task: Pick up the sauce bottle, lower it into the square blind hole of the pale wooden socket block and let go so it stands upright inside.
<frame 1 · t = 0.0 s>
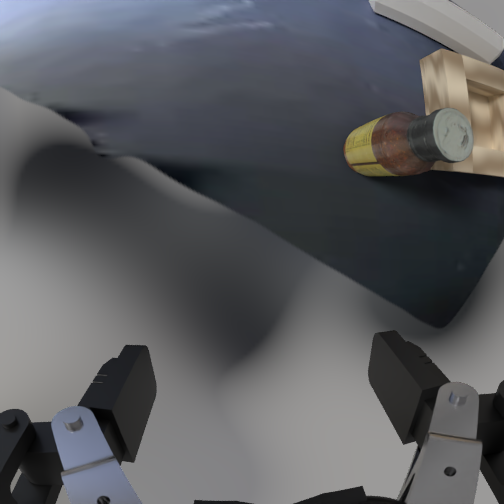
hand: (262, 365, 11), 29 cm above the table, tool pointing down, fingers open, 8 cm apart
sauce bottle: (362, 150, 37), on the table
crystal: (430, 22, 32), on the table
socket block: (467, 120, 36), on the table
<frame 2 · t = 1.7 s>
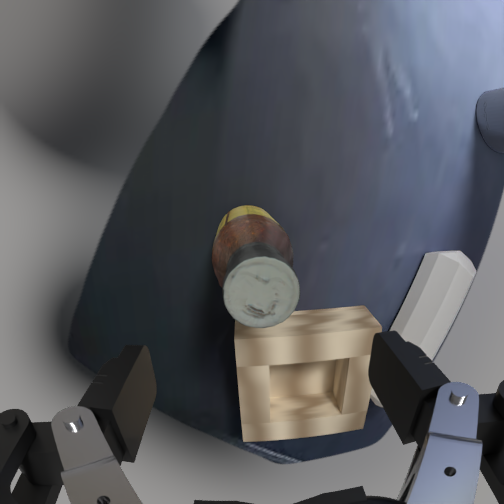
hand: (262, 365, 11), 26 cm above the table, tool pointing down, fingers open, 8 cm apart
sauce bottle: (248, 230, 36), on the table
crystal: (411, 324, 40), on the table
socket block: (300, 365, 40), on the table
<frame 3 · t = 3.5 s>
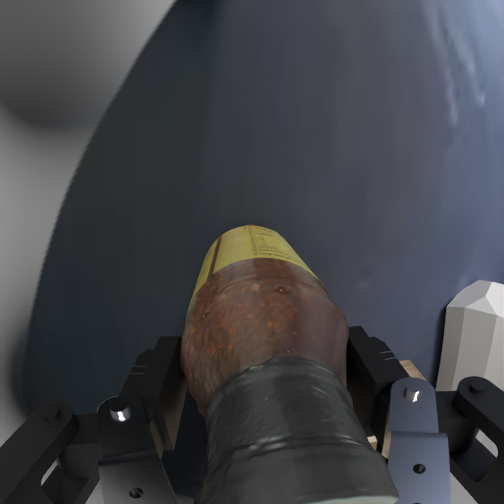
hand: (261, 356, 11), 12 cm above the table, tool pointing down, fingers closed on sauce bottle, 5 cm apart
sauce bottle: (251, 262, 23), on the table, touching gripper
crystal: (458, 374, 27), on the table
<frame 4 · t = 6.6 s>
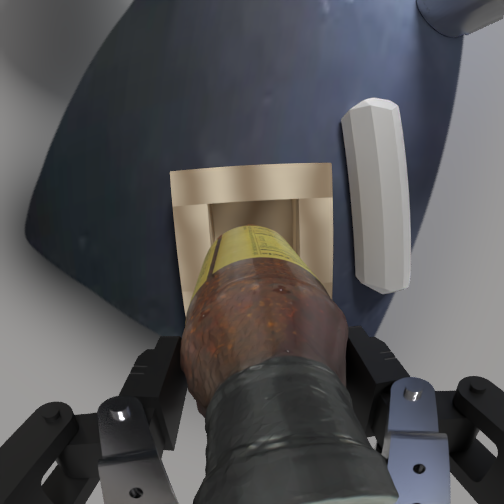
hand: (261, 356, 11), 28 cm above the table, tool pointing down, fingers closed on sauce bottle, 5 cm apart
sauce bottle: (251, 262, 23), point 15 cm above the table, touching gripper
crystal: (375, 195, 38), on the table
socket block: (253, 234, 38), on the table
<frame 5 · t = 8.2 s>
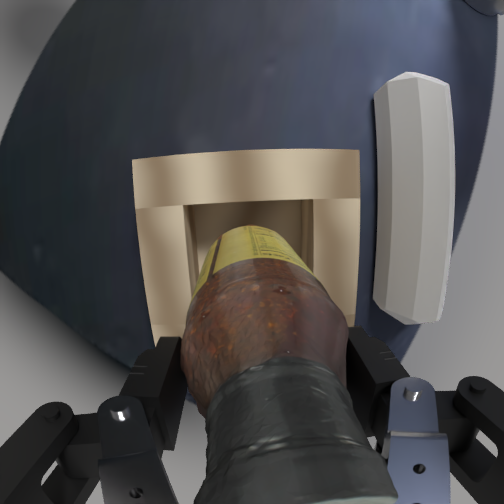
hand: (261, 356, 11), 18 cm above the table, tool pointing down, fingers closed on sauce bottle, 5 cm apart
sauce bottle: (251, 262, 23), point 6 cm above the table, touching gripper
crystal: (406, 197, 28), on the table
socket block: (249, 245, 29), on the table
when the fingers open (14 cm above the table, at t = 9.7 s): sauce bottle stays where it is, resting on socket block.
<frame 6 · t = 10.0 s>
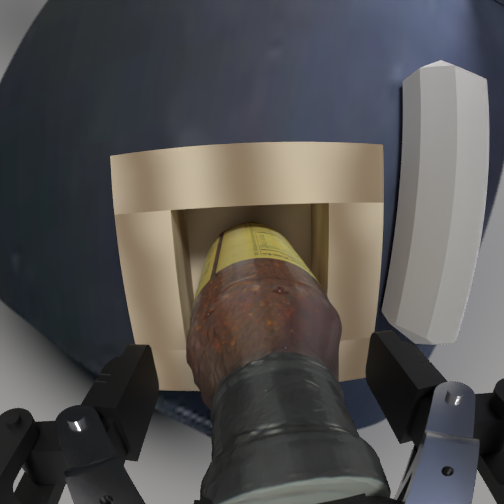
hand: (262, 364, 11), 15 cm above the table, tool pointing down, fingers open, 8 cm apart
sauce bottle: (252, 257, 24), point 1 cm above the table, touching socket block
crystal: (428, 201, 25), on the table
socket block: (250, 256, 25), on the table
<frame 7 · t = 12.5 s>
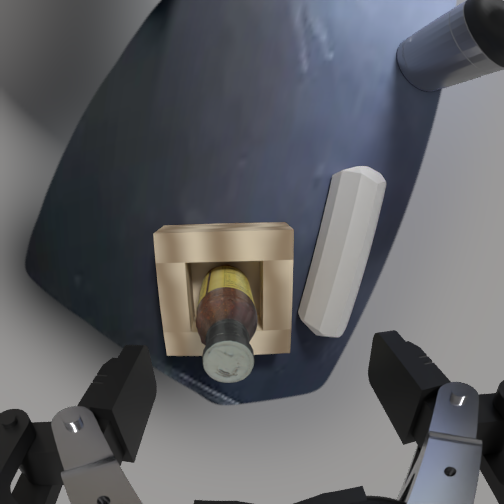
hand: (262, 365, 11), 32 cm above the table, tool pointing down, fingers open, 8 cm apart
sauce bottle: (226, 283, 43), point 1 cm above the table, touching socket block
crystal: (338, 249, 44), on the table
socket block: (226, 282, 44), on the table
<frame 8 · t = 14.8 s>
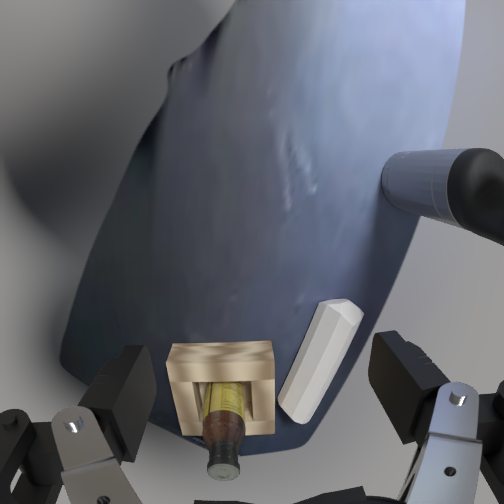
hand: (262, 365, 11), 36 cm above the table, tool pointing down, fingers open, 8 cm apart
sauce bottle: (225, 383, 52), point 1 cm above the table, touching socket block
crystal: (316, 355, 52), on the table
socket block: (225, 381, 52), on the table
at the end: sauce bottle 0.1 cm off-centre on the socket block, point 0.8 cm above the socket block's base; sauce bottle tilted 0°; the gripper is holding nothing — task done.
